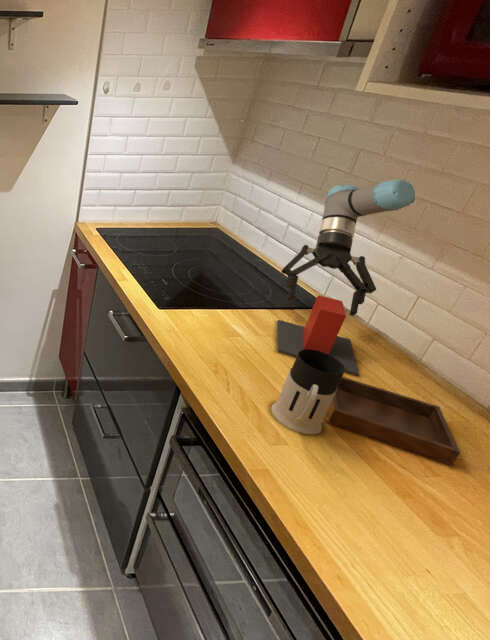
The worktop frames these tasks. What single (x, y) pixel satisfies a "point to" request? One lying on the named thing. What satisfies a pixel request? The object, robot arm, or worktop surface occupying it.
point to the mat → (293, 343)
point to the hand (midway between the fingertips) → (321, 306)
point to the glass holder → (308, 391)
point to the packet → (323, 324)
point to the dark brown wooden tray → (393, 420)
